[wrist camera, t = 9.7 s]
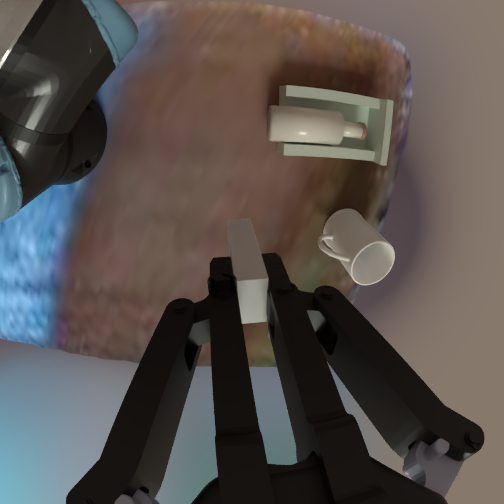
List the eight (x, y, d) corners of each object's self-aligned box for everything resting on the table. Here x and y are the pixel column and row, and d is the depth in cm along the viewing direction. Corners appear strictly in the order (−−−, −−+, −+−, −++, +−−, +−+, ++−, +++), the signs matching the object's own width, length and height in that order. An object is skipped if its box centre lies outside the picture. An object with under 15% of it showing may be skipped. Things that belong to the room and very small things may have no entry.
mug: (300, 243, 50) (322, 283, 40) (314, 200, 46) (343, 231, 36) (354, 251, 53) (382, 288, 43) (369, 213, 49) (404, 244, 38)
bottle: (272, 146, 35) (366, 152, 37) (275, 109, 31) (373, 121, 33) (265, 134, 39) (352, 140, 40) (268, 101, 35) (358, 111, 37)
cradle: (277, 150, 41) (287, 158, 36) (279, 86, 36) (290, 83, 30) (366, 156, 43) (386, 165, 37) (372, 98, 38) (393, 100, 32)
